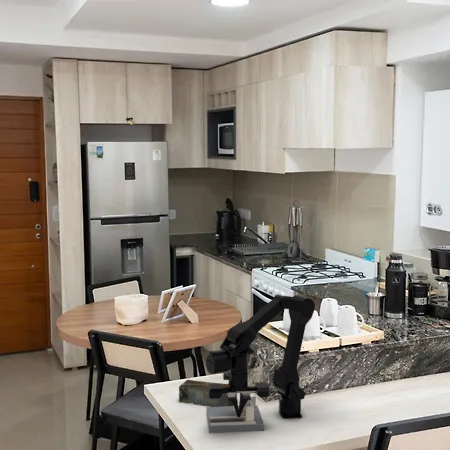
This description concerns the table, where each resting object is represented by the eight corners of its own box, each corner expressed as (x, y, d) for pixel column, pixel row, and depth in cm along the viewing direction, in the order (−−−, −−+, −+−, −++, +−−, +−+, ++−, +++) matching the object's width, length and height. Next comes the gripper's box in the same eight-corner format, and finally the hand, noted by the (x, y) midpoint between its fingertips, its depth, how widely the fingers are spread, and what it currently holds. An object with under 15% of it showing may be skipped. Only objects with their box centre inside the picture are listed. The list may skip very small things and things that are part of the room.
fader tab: (252, 417, 198) (252, 402, 197) (253, 421, 195) (254, 406, 194) (245, 417, 197) (245, 402, 197) (246, 421, 194) (246, 406, 194)
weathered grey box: (186, 394, 224) (186, 376, 223) (238, 401, 218) (238, 383, 217) (178, 403, 216) (178, 384, 215) (231, 410, 210) (231, 391, 209)
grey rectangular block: (250, 405, 208) (250, 393, 207) (255, 407, 206) (255, 394, 205) (240, 409, 204) (240, 397, 204) (245, 411, 202) (245, 399, 202)
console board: (257, 410, 209) (257, 403, 208) (263, 430, 194) (263, 422, 193) (206, 412, 207) (206, 405, 207) (209, 432, 192) (209, 424, 192)
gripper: (264, 359, 203) (264, 405, 204) (207, 360, 201) (207, 407, 203) (270, 370, 192) (269, 419, 193) (209, 372, 190) (209, 421, 192)
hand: (238, 416), depth 196 cm, fingers closed
